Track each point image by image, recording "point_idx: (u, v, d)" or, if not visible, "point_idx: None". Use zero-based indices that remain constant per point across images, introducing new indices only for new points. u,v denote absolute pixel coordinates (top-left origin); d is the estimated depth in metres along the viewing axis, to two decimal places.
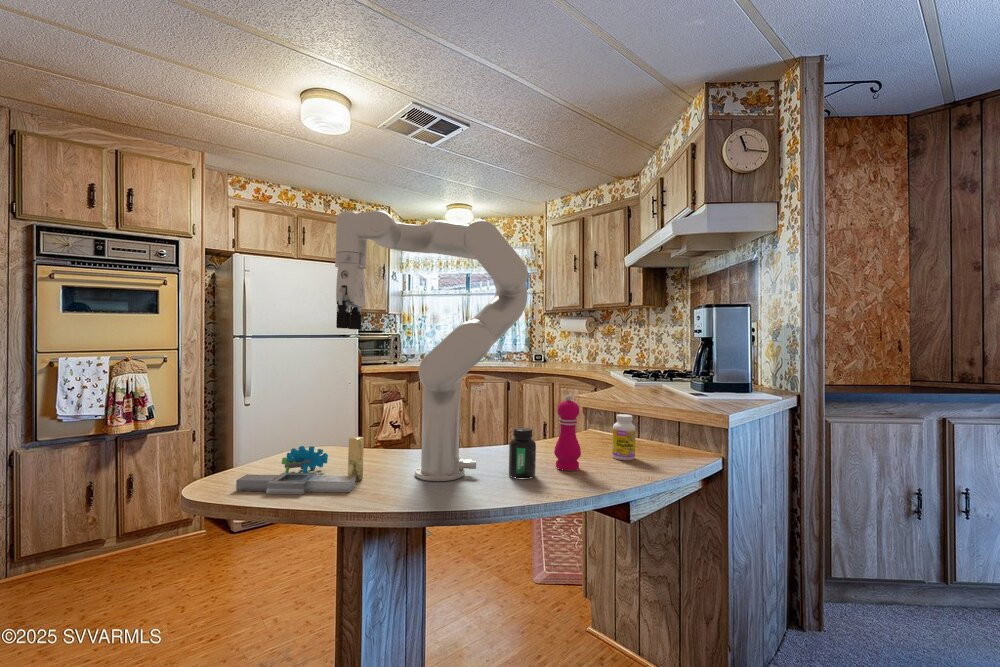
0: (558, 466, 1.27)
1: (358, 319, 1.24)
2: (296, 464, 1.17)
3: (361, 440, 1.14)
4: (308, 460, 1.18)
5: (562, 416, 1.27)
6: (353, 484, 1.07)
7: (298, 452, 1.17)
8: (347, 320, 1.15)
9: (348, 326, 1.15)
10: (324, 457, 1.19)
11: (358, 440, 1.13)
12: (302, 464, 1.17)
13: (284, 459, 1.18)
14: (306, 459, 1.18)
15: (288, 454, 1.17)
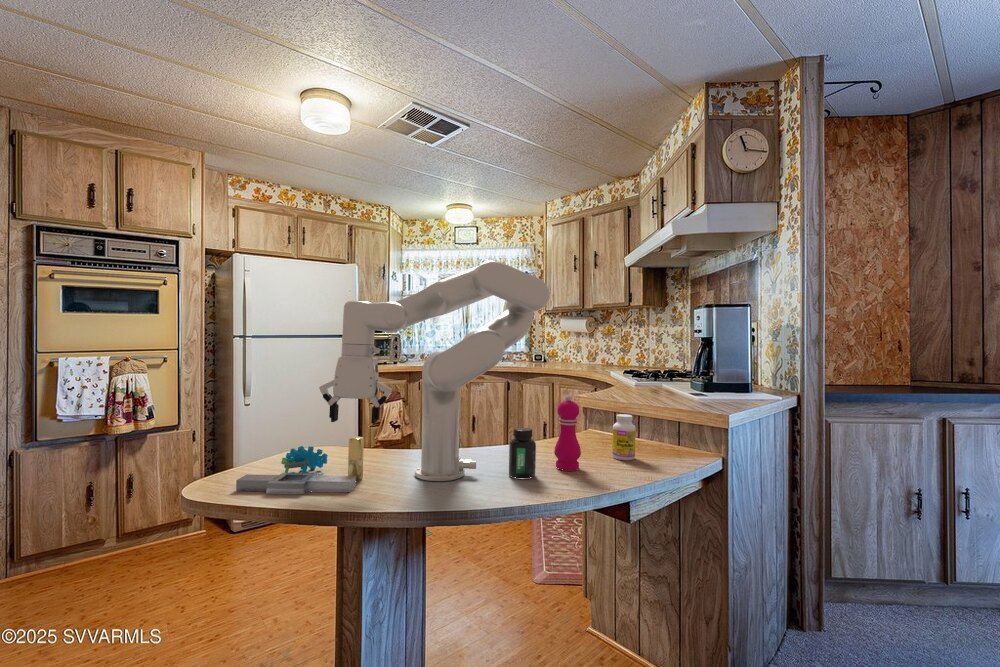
0: (558, 466, 1.27)
1: (337, 410, 1.15)
2: (296, 464, 1.17)
3: (361, 440, 1.13)
4: (307, 460, 1.18)
5: (562, 416, 1.27)
6: (353, 484, 1.07)
7: (297, 452, 1.16)
8: None
9: (376, 420, 1.16)
10: (323, 457, 1.19)
11: (358, 440, 1.13)
12: (301, 464, 1.17)
13: (284, 459, 1.18)
14: (305, 459, 1.18)
15: (288, 454, 1.17)
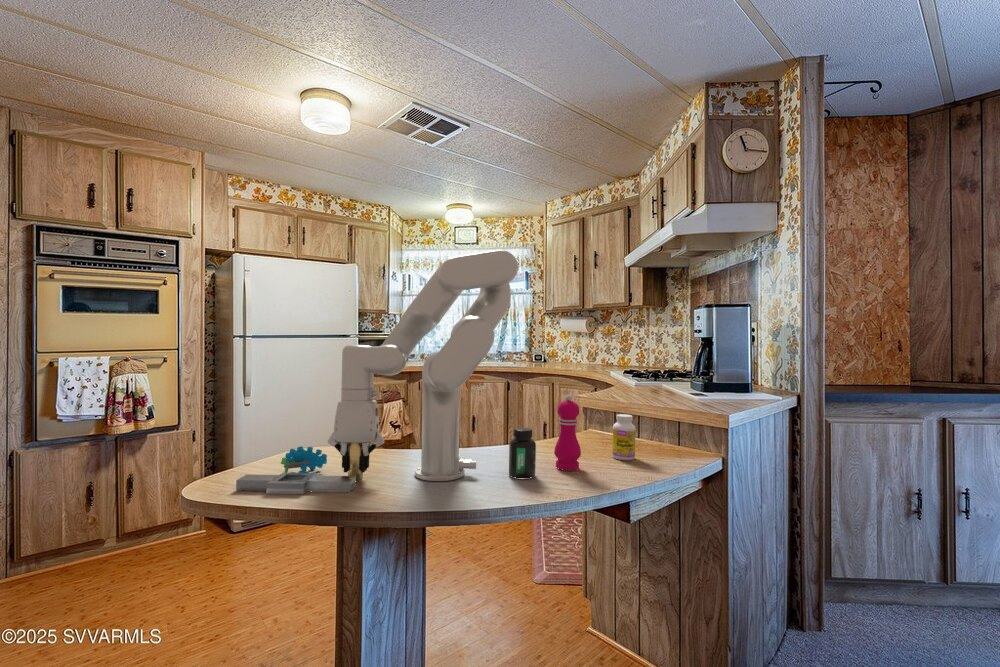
0: (558, 466, 1.27)
1: None
2: (295, 464, 1.17)
3: None
4: (307, 460, 1.17)
5: (562, 416, 1.27)
6: (353, 484, 1.07)
7: (297, 452, 1.16)
8: None
9: (366, 467, 1.16)
10: (323, 458, 1.18)
11: None
12: (301, 464, 1.17)
13: (283, 459, 1.18)
14: (305, 459, 1.17)
15: (287, 454, 1.16)
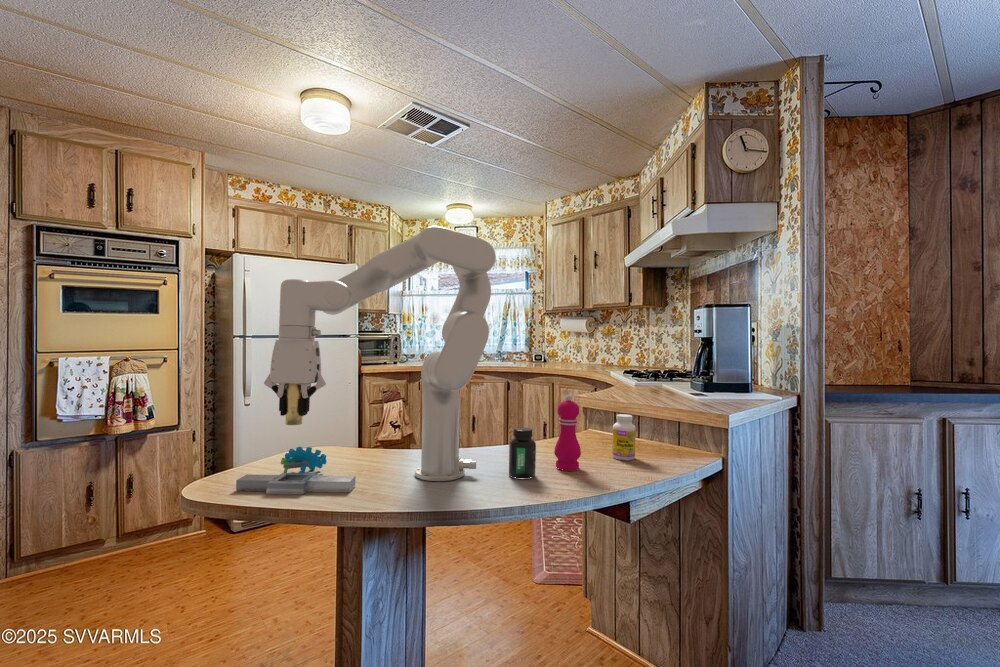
0: (558, 466, 1.27)
1: None
2: (294, 465, 1.17)
3: None
4: (306, 461, 1.17)
5: (562, 416, 1.27)
6: (353, 484, 1.07)
7: (296, 453, 1.16)
8: None
9: (307, 412, 1.08)
10: (322, 458, 1.18)
11: None
12: (300, 465, 1.17)
13: (283, 459, 1.18)
14: (304, 460, 1.17)
15: (286, 454, 1.16)
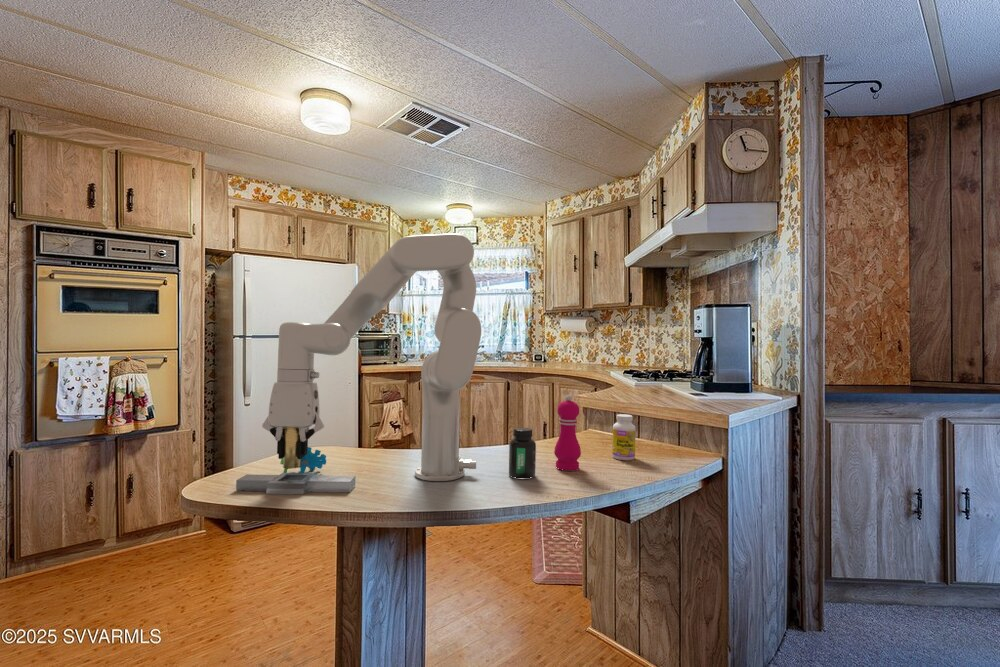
0: (558, 466, 1.27)
1: None
2: None
3: None
4: (306, 461, 1.17)
5: (562, 416, 1.27)
6: (353, 484, 1.07)
7: None
8: None
9: None
10: (322, 458, 1.18)
11: None
12: (300, 465, 1.17)
13: (283, 459, 1.18)
14: (304, 460, 1.17)
15: None
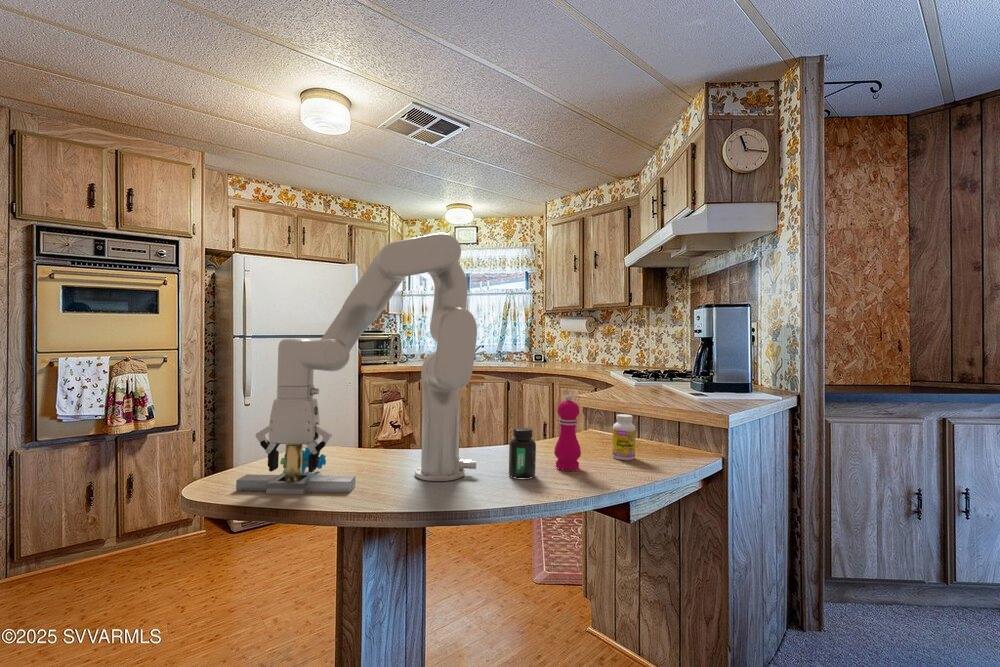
0: (558, 466, 1.27)
1: (277, 457, 1.07)
2: None
3: (299, 446, 1.06)
4: (305, 461, 1.17)
5: (562, 416, 1.27)
6: (353, 484, 1.07)
7: None
8: None
9: (316, 466, 1.08)
10: (321, 458, 1.18)
11: (295, 446, 1.05)
12: None
13: (283, 459, 1.18)
14: (303, 460, 1.17)
15: None
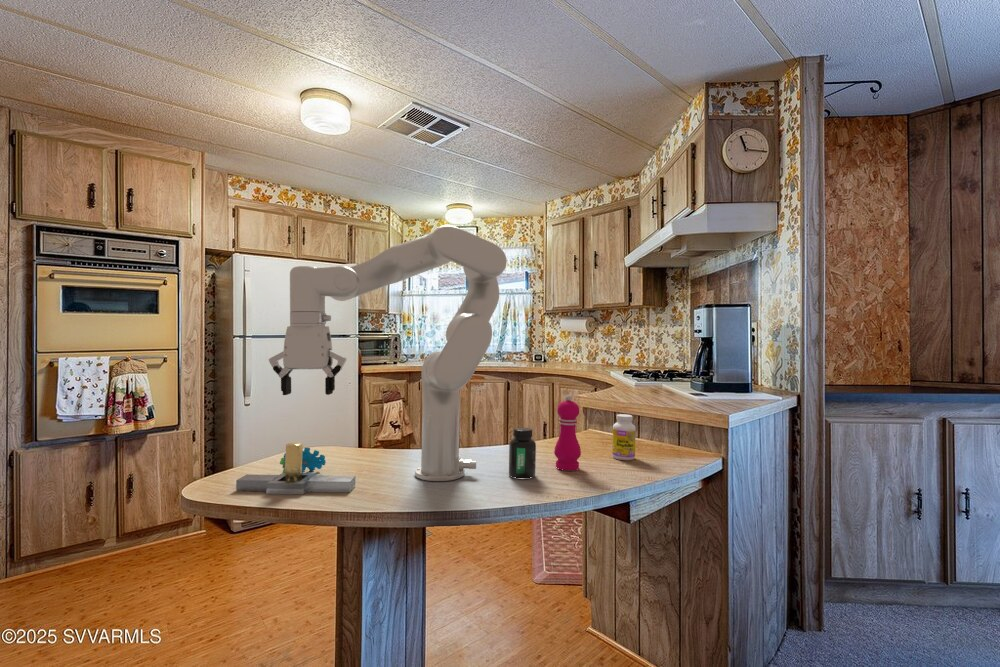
0: (558, 466, 1.27)
1: (290, 382, 1.10)
2: None
3: (299, 446, 1.06)
4: (305, 461, 1.17)
5: (562, 416, 1.27)
6: (353, 484, 1.07)
7: None
8: None
9: (332, 391, 1.10)
10: (321, 459, 1.17)
11: (295, 446, 1.05)
12: None
13: (282, 459, 1.18)
14: (303, 460, 1.17)
15: (285, 455, 1.16)
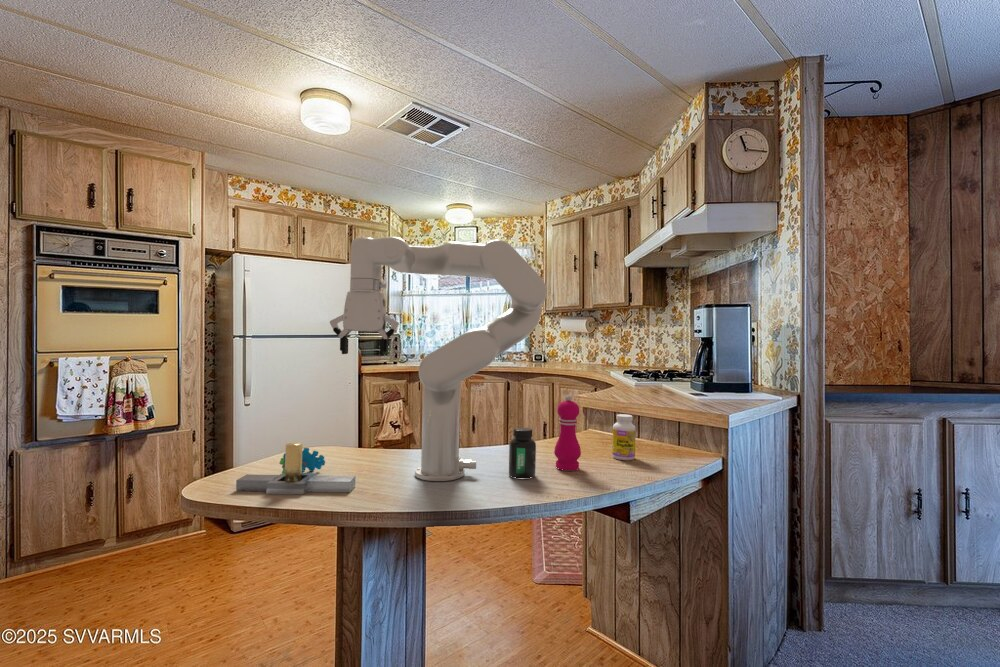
0: (558, 466, 1.27)
1: (347, 343, 1.21)
2: None
3: (299, 446, 1.06)
4: (304, 461, 1.16)
5: (562, 416, 1.27)
6: (353, 484, 1.07)
7: None
8: None
9: (385, 352, 1.21)
10: (320, 459, 1.17)
11: (295, 446, 1.05)
12: None
13: (282, 460, 1.17)
14: (302, 460, 1.16)
15: None
